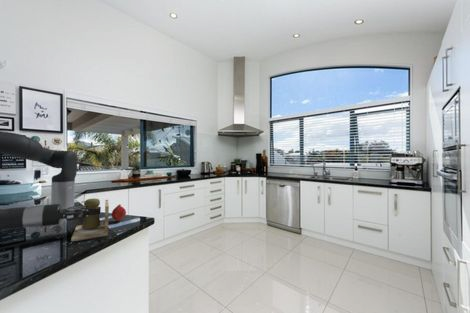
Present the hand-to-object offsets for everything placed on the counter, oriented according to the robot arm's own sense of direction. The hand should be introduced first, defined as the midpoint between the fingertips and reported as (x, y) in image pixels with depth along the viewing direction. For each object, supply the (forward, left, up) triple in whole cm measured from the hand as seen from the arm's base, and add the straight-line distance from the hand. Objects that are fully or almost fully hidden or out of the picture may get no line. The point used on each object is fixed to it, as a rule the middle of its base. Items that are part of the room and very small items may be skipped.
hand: (100, 210), depth 82 cm
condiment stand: (0, -3, -8) cm, 9 cm away
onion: (-10, +7, -8) cm, 15 cm away
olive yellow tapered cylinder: (-1, -3, -6) cm, 7 cm away
